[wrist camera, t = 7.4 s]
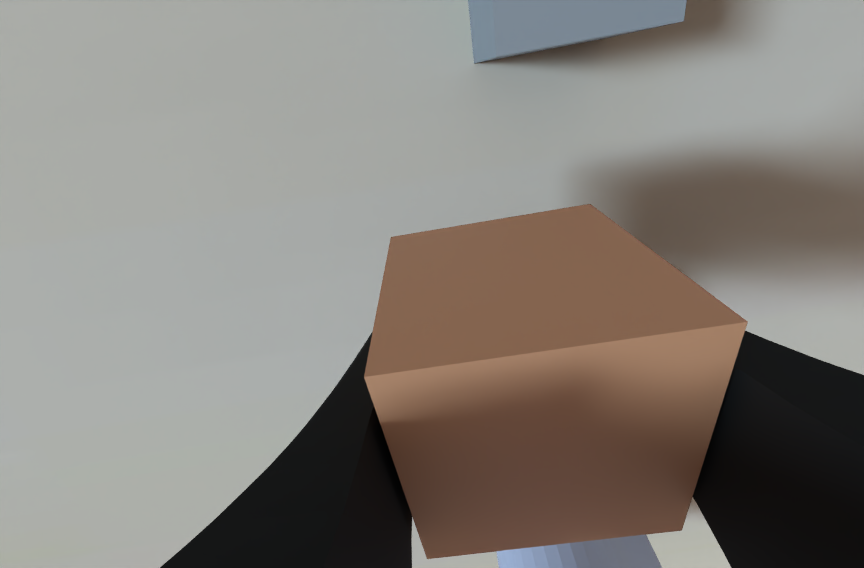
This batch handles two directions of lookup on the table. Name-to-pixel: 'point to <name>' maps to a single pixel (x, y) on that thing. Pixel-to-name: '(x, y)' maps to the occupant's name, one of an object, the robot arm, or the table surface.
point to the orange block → (545, 381)
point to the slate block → (560, 23)
